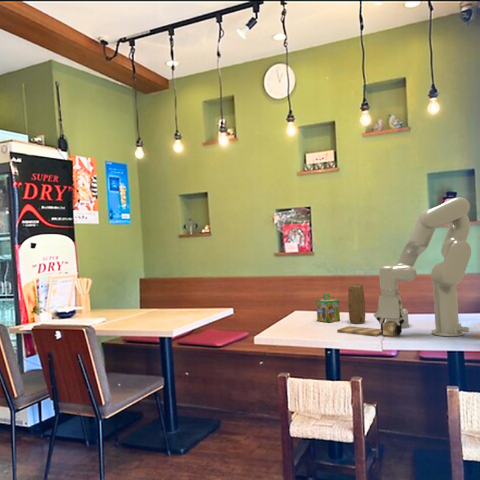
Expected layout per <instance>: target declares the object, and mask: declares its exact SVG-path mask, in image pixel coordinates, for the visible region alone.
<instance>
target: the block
mask: <svg viewBox="0 0 480 480" xmlns="http://www.w3.org/2000/svg"><path fill="white" fill-rule="evenodd" d="M363 286H364V285H363V284H361V283H359V284H354V283H353V284H350V285H349V286H348V287H347V289H348V294H347V300H348V301H347V302H348V303H347V305H348V319H349V323H351V324H357V325H358V324H359V325H360V324H364V323H365V320H366V298H365V291H364V287H363Z"/></svg>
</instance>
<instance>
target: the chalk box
mask: <svg viewBox="0 0 480 480" xmlns="http://www.w3.org/2000/svg"><path fill="white" fill-rule="evenodd" d="M326 296H327V297H326ZM322 297H323V298H322V299H316V300H315V302H316V318H317V319H316V321H317V322H322V323H337V322H341V318H340V316H341V315H340V313H341V312H340V300H339V299H335V298H334V299H332V298H331V296H330V293H324V294H322Z"/></svg>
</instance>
